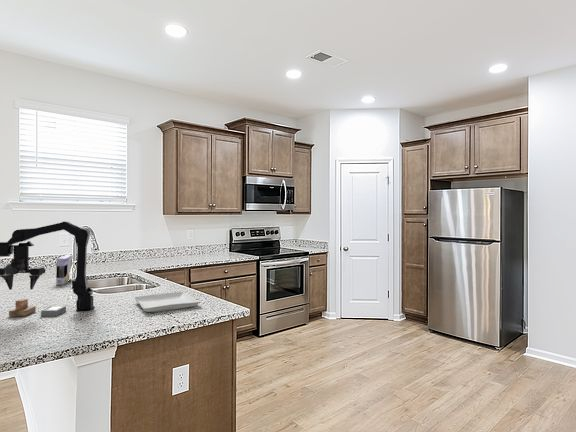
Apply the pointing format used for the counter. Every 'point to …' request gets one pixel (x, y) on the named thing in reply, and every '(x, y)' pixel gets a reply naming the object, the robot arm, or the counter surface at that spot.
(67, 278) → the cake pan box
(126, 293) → the counter surface
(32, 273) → the robot arm
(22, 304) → the block on square base
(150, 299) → the square plate
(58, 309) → the board
